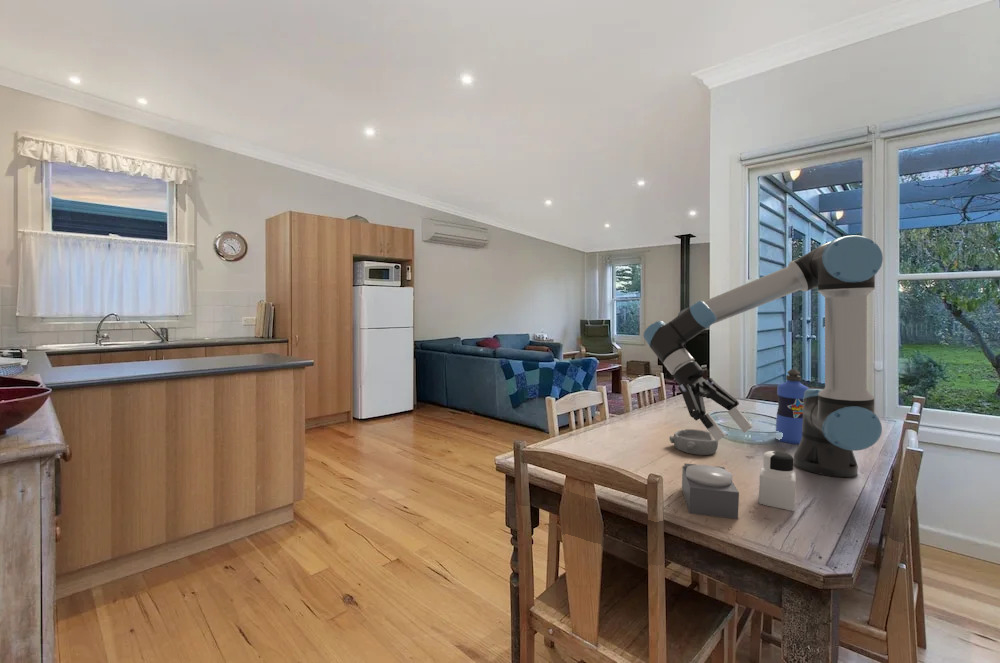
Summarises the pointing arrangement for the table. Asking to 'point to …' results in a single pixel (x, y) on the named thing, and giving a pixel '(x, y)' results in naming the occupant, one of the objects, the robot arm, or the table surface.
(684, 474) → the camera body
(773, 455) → the medicine bottle
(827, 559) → the table surface
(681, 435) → the dish
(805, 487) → the table surface
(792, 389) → the water bottle
